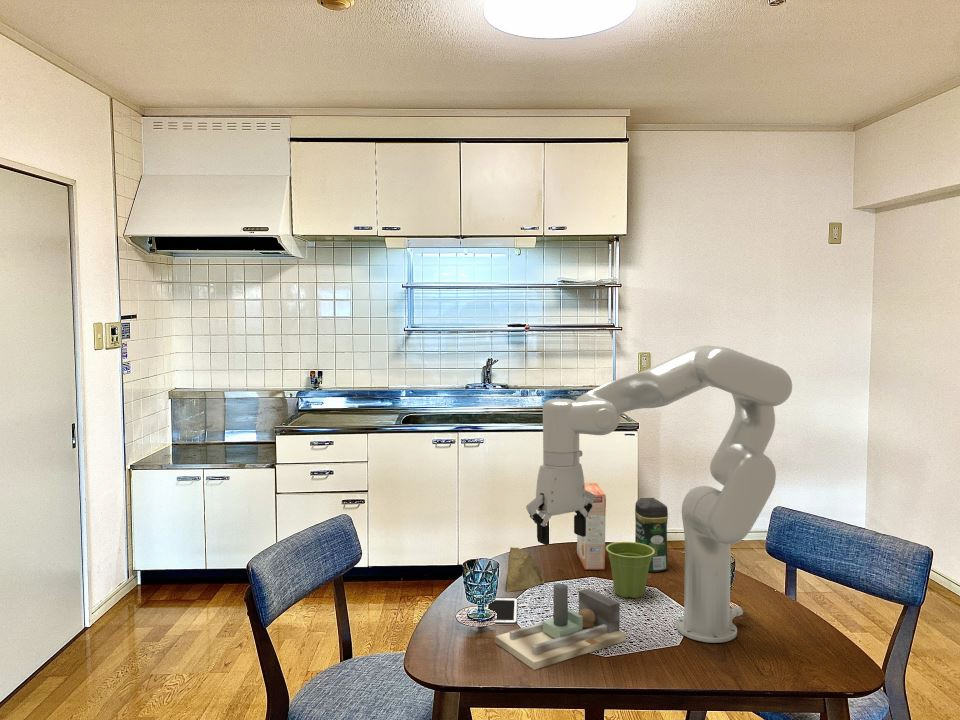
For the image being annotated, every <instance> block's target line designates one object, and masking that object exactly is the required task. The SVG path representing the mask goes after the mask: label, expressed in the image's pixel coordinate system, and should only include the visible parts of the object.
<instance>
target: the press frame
mask: <svg viewBox="0 0 960 720" xmlns="http://www.w3.org/2000/svg"><path fill="white" fill-rule="evenodd" d="M620 611H621V610H620V602H619V601H616V600H615V599H612V598H611V597H608V596H606V595H604V594H602V593H600V592H598V591H595V589H592V588H590V587H589V588H585V589H582V590H581V589H580V590H578V611H577V612H575V613H577V614H579V615H581V616H583V631H580V632H576V633H573V634H570V635H566V636H563V637H560V638H556V639H555V638H553V637H551V636H550V635H548V634H547V633H545V632H543V621H542V622H538V623H535V624H531V625H528V626H525V627H524V626H523V627H519V628H517V629H514V630H510V631H509V632H505V633H502V634H501V633H500V634H498V635H495V636H494V640H495V641H494V643H495V645H498V646H499V647H500V648H502V649H503V650H505V651H506V652H507V653H509V654H510V655H512V657H515V658H516V659H518V660H519V661H521V663H523V664H525V665H526V666H528V667H529V668H531V669H532V670H533V671H536V670H540V669H541V668H546V667H548V666H552V665H554V664H558V663H560V662H563V661H566V660H570V659H572V658H576V657H579V656H583V655H586V654H588V653H589V654H590V653H592V652H594V651H598V650H601V649H603V648H607V647H610V646H613V645H616V644H619V643H622V642H625V641H627V633H626V632H624V631H622V630H620V614H621V613H620Z"/></svg>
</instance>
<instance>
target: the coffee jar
mask: <svg viewBox="0 0 960 720" xmlns="http://www.w3.org/2000/svg"><path fill="white" fill-rule="evenodd" d="M634 506H635V509H634V516H635V517H634V519H635V520H634V521H635V530H634V531H635V543H641V544H645V545H648V546H650V547H652V548H653V549H654V550H655V553H654V554H653V555H652V559H651V563H650V566H649V571H648V572H652V573H657V572H658V573H659V572H662V571H665V570H667V569H668V520H669V519H668V518H669V512H668V506H667V505H666V504H664V503H663V502H662V501H659V500H657V499H656V498H655V497H640V498H639V499H638V500H636V502H635V504H634Z"/></svg>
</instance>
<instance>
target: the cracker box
mask: <svg viewBox="0 0 960 720" xmlns="http://www.w3.org/2000/svg"><path fill="white" fill-rule="evenodd" d="M584 484H585V490H586V491H588V492H590V493H592V494H594V495H595V499H594V502H593V504H592V508H591V510H590V511H589V513H588V514H589V515H588V517H587V518H586V536H585V537H582V536H579V535H577V534H576V539H577V540H576V554H577V556H578V558H579V560H580V563H581V564H582V567H583V568H584V570H586V571H588V570H591V571H592V570H597V571H600V570H601V571H602V570H605V569H606V516H607V515H606V511H607V509H606V508H607V503H606V502H607V495H606V493H605V492H604V490H603V489H602V488H601V487H600V485H599V484H598V483H596V482H584ZM585 500H586V497H585Z"/></svg>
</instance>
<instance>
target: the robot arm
mask: <svg viewBox="0 0 960 720" xmlns="http://www.w3.org/2000/svg"><path fill="white" fill-rule="evenodd" d="M708 387H711V388H716V389H719V390H722V391H724V392H728V393H729V394H731V395H732V398H733V401H734V409H735V410H734V415H733V416H734V417H733V419H732V422H731V423H730V425H729V428H728V430H727V432H726V433H725V435H724V437H723V439H722V441H721V443H720V444H719V446H718V448H717V449H716V452H715V453H714V455H713V457H712V459H711V462H710V465H709V471H710V475H711V477H713V479H714V480H715V481H716V482H718V483H719V484H720V485H722V486H723V487H722V489H721V490H719V489H718V488H715V487H712V486H707V485H701V486H700V485H699V486H696V487H694V488H691V489H690V490H689V491H688V492H687V493H686V495H685V496H684V498H683V500H682V503H681V504H682V505H681V520H682V525H683V527H682V528H683V533H684V534H683V535H684V587H683V588H684V595H683V596H684V597H683V600H684V601H683V603H684V606H683V607H684V608H683V616H681V617H679V618H678V620H676V628H677V629H676V630H677V631H678V633H680V634H681V635H682V636H683V637H686V638H688V639H691V640H694V641H698V642H702V643H711V644H714V643H715V644H717V643H720V644H721V643H726V642H729V641H732V640H734V639H735V638H736V637H737V636H738V627H737V626H736V625H735V624H734V623H733V620H734V619H735V618H736V617H739V616H742V615H743V614H744V610H743V607H742V606H739V605H738V606H735V607H732V608H731V567H732V565H731V563H732V562H731V561H732V560H731V559H732V556H731V555H732V553H731V545H735V544H737V543H739V542H741V541H742V540H743V539H745V538H746V537H747V536H748V534H749V533H750V531H751V530H752V528H753V527H754V525H755V523H756V521H757V520H758V518H759V516H760V514H761V513H762V511H763V509H764V507H765V506H766V504H767V502H768V500H769V498H770V496H771V494H772V493H773V490H774V488H775V485H776V478H777V471H776V467H775V465H774V463H773V461H772V460H771V458H770V457H768V456H767V455H766V454H764V453H765V452H766V449H767V447H768V445H769V442H770V441H771V438H772V436H773V434H774V431H775V426H776V414H775V408H774V407H777V406H780V405H782V404H784V403H785V402H786V401H787V400H788V399H789V398H790V397H791V394H792V390H793V382H792V379H791V376H790V375H789V374H788V372H787V371H786V370H784V368H782V367H780V366H778V365H775V364H773V363H769V362H766V361H764V360H762V359H758V358H756V357H753V356H750V355H747V354H744V353H742V352H740V351H737V350H735V349H731V348H729V347H725V346H715V345H701V346H697V347H694V348H692V349H689V350H687V351H686V352H683V353H681V354H679V355H677V356H674V357H673V358H669V359H668V360H665V361H664V362H661V363H659V364H656V365H655V366H652V367H650V368H648V369H645V370H642V371H639V372H635V373H633V374H630V375H628V376H625V377H624V376H623V377H620V378H618V379H615V380H612V381H609V382H607V383H604V384H601V385H600V386H598V387H596V388H593V389H592V390H588V391H587V392H585V393H583V394H581V395H579V396H578V397H577V398H576V399H575V400H574V399H570V398H553V399H552V398H551V399H548V400H546V401H545V402H544V403H543V404H542V453H543V454H542V455H543V457H542V461H543V462H542V464H541V465H539V469H538V474H537V480H536V490H535V498H534V499H533V500H532V501H531V502H529V503H528V504H527V505H526V507H525V508H526V511H527V512H528V514H529V518H530V519H532V521H533V522H534V524H536V539H537V542H538V543H540V544H542V545H544V546H548V545H549V544H550V527H549V525H547V524H548V522H549V521H550V519H551V518H552V516H558V515H559V516H560V515H565V514H569V513H575V514H574V515H573V516H574V517H573V534H574V535H576V536H577V535H579V536H582V537H585V536H586V518H587V517H588V515H589V514H588V513H589V511H590V510H591V508H592V504H593V502H594V499H595V495H594V494H592V493H590V492H588V491H586V490H585V484H584V483H585V476H584V469H583V466H582V463H580V457H582V456H583V451H582V450H580V434H581V435H590V436H607V435H609V434H611V433H612V432H614V431H616V429H617V427H618V426H619V423H620V422H621V421H620V420H621V417H620V414H624V413H627V412H629V411H635V410H640V409H641V410H642V409H655V408H662V407H666V406H668V405H670V404H673V403H675V402H677V401H679V400H680V399H683V398H685V397H687V396H690V395H692V394H693V393H696V392H699V391H701V390H703V389H705V388H708ZM585 497H586V500H585ZM537 511H538V512H537Z"/></svg>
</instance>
